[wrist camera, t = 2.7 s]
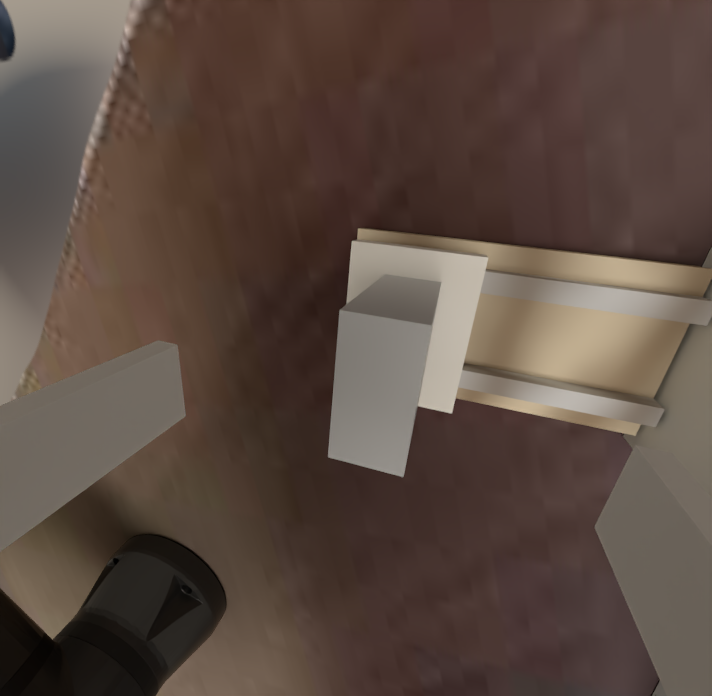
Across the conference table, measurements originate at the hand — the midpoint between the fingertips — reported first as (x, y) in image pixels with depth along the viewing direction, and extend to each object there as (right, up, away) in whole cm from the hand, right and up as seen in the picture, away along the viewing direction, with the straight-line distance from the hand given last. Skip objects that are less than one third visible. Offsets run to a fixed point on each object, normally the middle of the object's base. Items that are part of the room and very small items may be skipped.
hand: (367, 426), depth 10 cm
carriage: (+3, +4, +11) cm, 12 cm away
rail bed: (+9, +4, +12) cm, 15 cm away
